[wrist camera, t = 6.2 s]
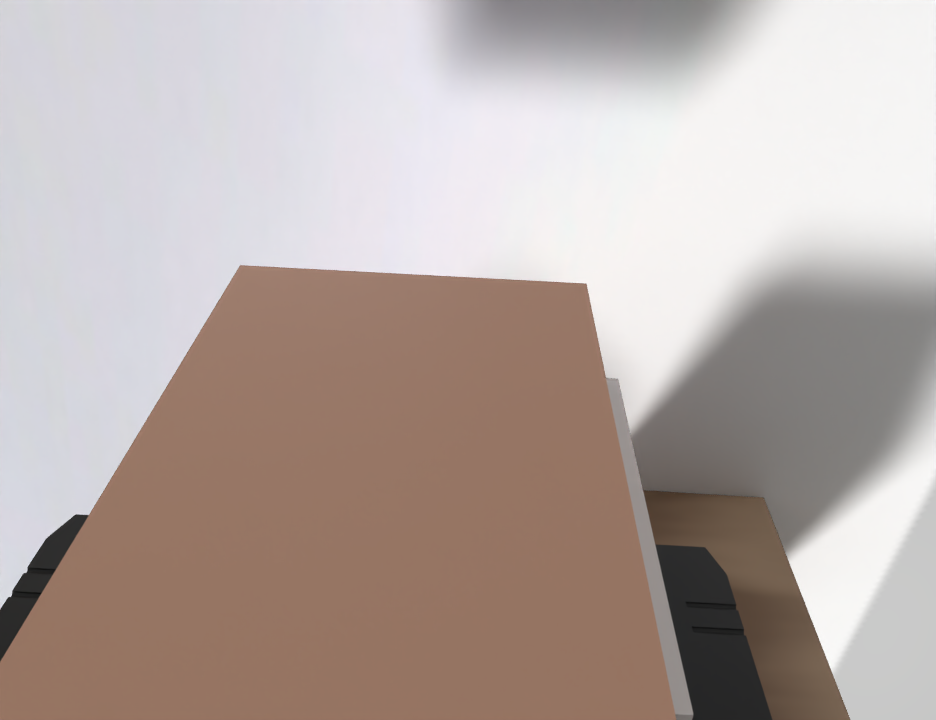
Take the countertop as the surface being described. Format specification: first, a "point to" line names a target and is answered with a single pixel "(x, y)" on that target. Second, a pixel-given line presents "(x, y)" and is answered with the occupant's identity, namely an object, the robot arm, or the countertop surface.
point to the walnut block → (756, 596)
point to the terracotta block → (360, 521)
